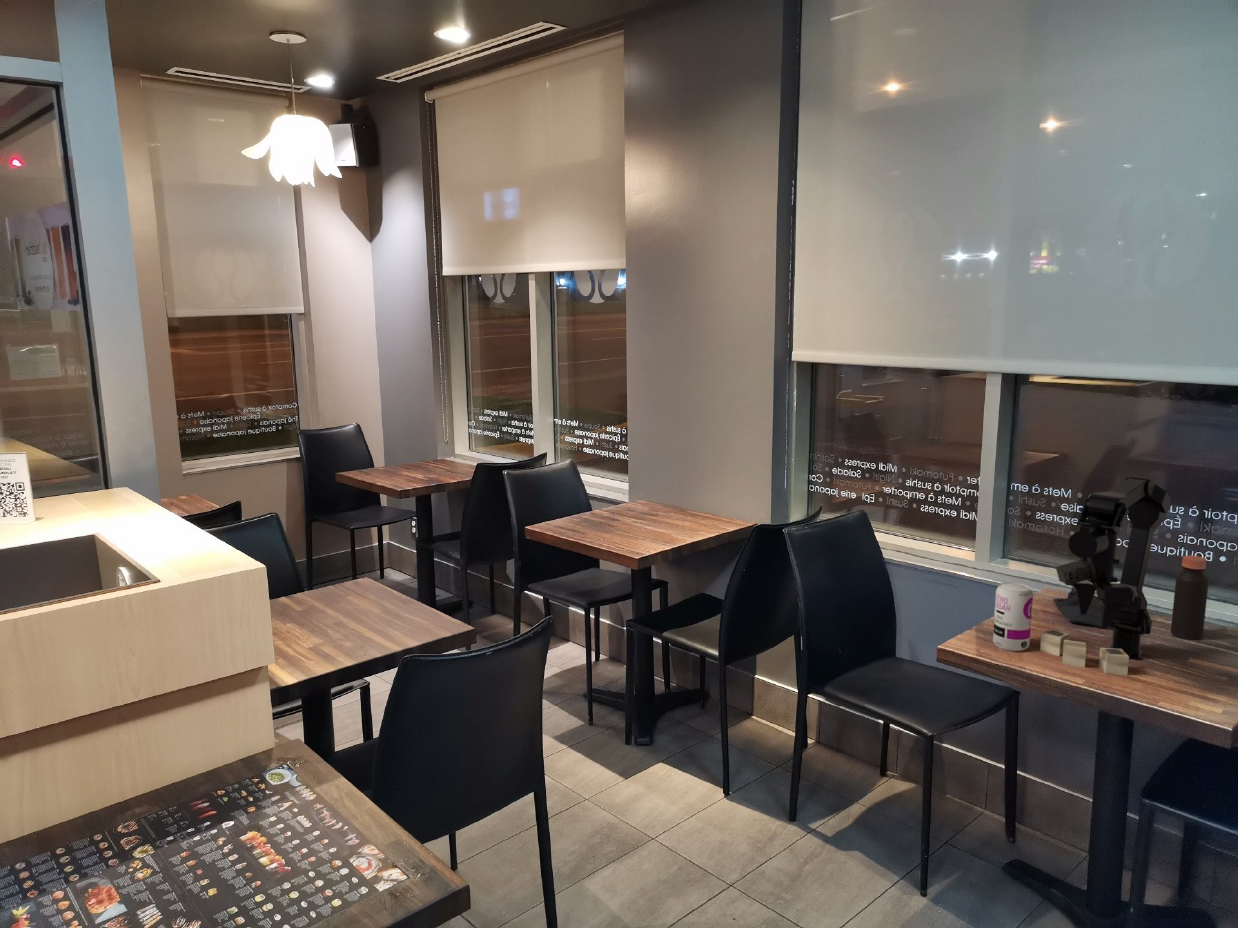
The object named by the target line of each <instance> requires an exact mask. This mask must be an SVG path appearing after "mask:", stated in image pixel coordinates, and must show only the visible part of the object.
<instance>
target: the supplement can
mask: <svg viewBox="0 0 1238 928" xmlns="http://www.w3.org/2000/svg"><path fill="white" fill-rule="evenodd" d="M1033 600H1034V592H1032V589H1031V587H1030V586H1028V585H1026V584H1024V583H1020V582H1001V583H1000V584H999V585H998V587H997V588H996V590H995V600H994V602H995V603H994V604H995V605H994V614H993V616H994V618H993V632H992V642H993V644H994V645H995V646H996V647H997V648H1000V649H1002V650H1006V651H1010V652H1021V651H1025V650H1027V649H1028V648H1029V647H1030V643H1031V630H1032V617H1033V614H1032V613H1033V604H1034V603H1033Z"/></svg>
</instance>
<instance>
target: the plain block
mask: <svg viewBox="0 0 1238 928" xmlns="http://www.w3.org/2000/svg"><path fill="white" fill-rule="evenodd" d="M1086 657H1087V643H1086V642H1083V641H1077V640H1076V641H1075V640H1070V639H1069V640H1064V645H1063V654H1062V665H1065V666H1070V665H1071V666H1072V667H1079V668H1083V669H1084V668H1086ZM1071 666H1070V667H1071Z"/></svg>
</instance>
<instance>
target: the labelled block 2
mask: <svg viewBox="0 0 1238 928" xmlns="http://www.w3.org/2000/svg"><path fill="white" fill-rule="evenodd" d="M1098 658H1099V659H1098V667H1099V668H1100V670H1101V671H1102V672H1103V673H1104V674H1105V675H1119V676H1120V675H1121V676H1128V671H1129V659H1130V658H1129V656H1128V655H1127V654H1126V653H1125V652H1124V651H1123V650H1122V649H1114V648H1110V647H1100V648H1099V656H1098Z"/></svg>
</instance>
